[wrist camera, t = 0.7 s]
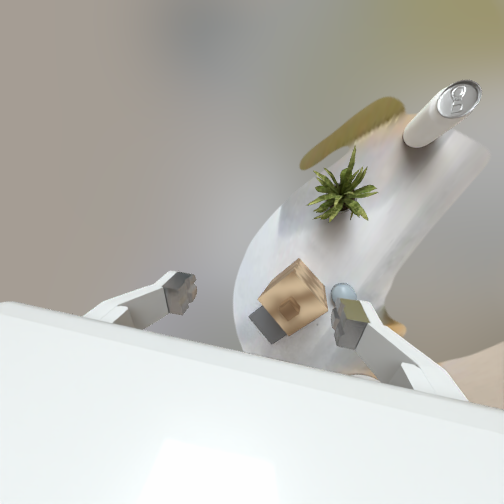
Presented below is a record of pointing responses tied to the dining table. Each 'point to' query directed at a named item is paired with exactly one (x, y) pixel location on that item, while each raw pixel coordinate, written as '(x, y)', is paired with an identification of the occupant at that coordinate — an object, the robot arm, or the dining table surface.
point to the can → (442, 113)
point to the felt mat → (267, 325)
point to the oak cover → (295, 297)
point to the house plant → (342, 193)
